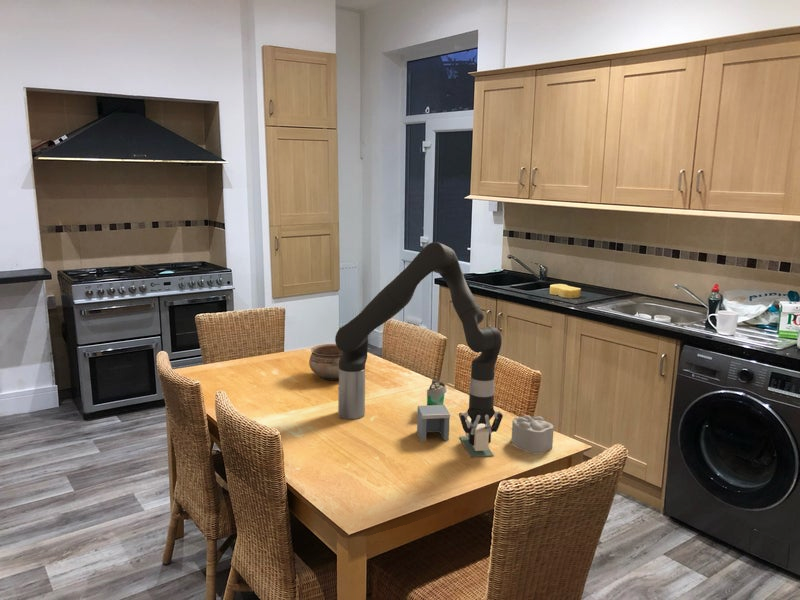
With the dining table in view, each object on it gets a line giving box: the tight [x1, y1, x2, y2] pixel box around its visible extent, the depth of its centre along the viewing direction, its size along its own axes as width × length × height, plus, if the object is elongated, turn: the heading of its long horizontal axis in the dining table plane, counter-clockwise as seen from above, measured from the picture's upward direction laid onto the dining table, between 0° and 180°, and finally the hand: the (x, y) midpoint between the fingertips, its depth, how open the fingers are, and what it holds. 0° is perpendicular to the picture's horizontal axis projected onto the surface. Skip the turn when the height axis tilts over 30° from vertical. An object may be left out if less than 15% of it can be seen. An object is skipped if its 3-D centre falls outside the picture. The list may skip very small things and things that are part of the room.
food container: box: [426, 379, 447, 405], centre depth 230 cm, size 12×6×10 cm, turn 168°
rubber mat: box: [459, 435, 495, 459], centre depth 202 cm, size 7×15×1 cm, turn 9°
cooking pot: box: [308, 343, 343, 381], centre depth 265 cm, size 25×19×12 cm
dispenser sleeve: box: [416, 404, 451, 442], centre depth 208 cm, size 9×9×9 cm
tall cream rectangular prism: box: [465, 417, 489, 451], centre depth 200 cm, size 4×12×6 cm, turn 9°
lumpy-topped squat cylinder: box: [510, 414, 555, 455], centre depth 203 cm, size 10×13×9 cm
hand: (479, 444), depth 198 cm, fingers closed on tall cream rectangular prism, 4 cm apart
